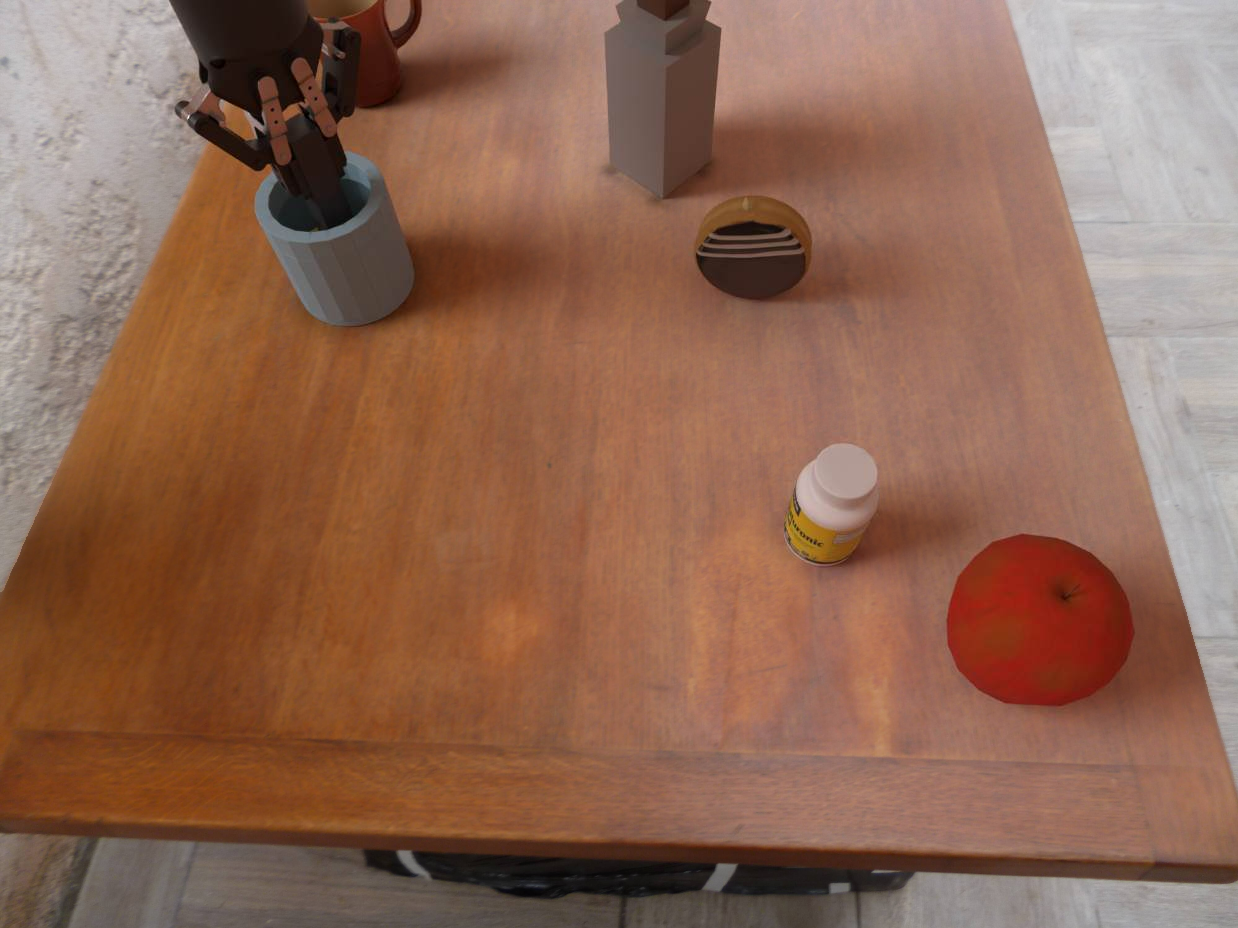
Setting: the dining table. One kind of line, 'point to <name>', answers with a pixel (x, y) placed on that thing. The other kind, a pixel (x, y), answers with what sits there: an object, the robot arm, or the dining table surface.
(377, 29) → the mug
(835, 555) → the supplement bottle
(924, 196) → the dining table surface
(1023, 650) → the apple
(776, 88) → the dining table surface
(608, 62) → the perfume bottle
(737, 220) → the doughnut
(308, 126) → the brush
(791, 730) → the dining table surface
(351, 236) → the gray tumbler
